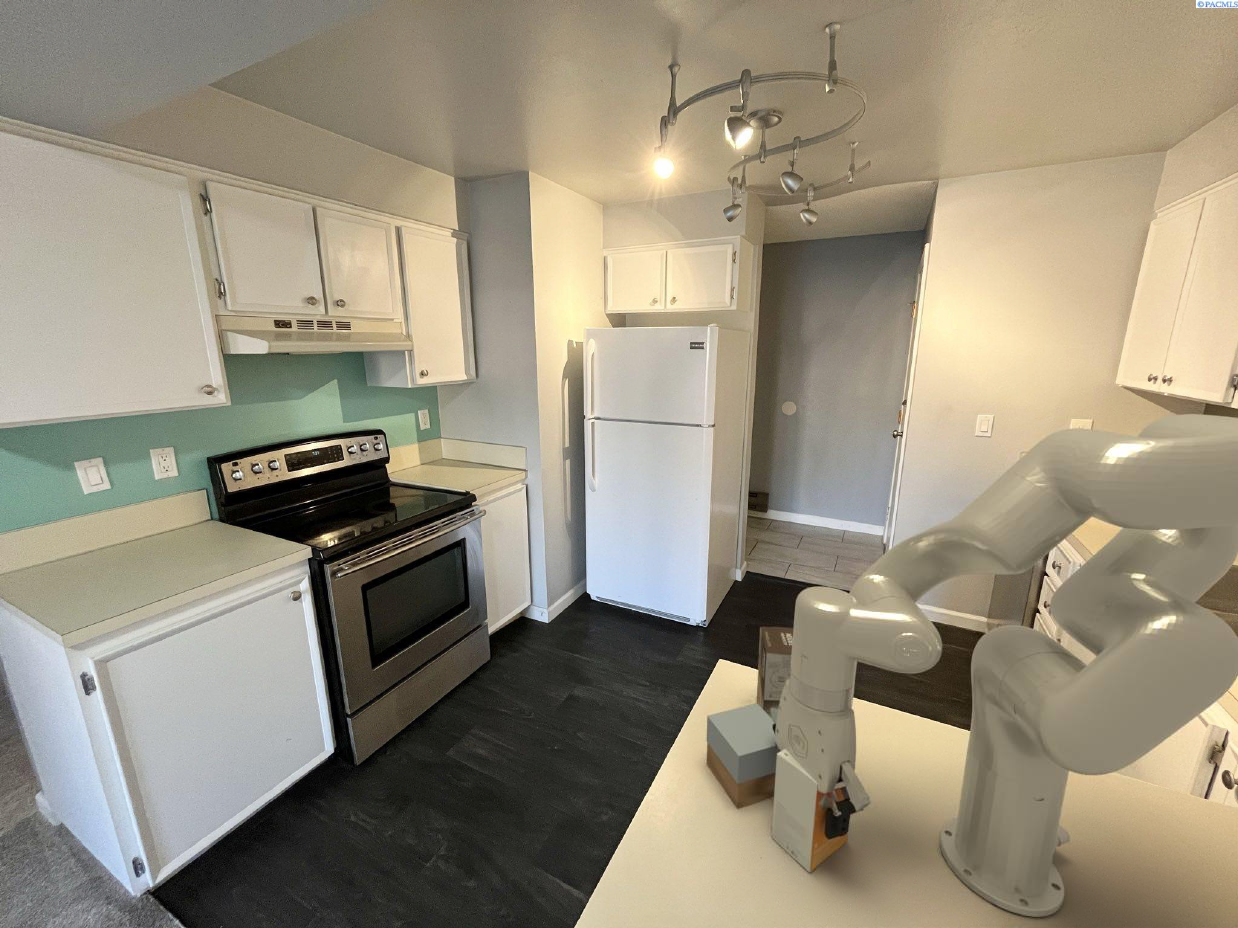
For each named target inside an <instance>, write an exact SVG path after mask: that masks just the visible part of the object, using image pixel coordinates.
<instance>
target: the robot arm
mask: <svg viewBox="0 0 1238 928" xmlns="http://www.w3.org/2000/svg"><path fill="white" fill-rule="evenodd" d="M1091 518H1094V519H1097V520H1099V521H1101V522H1105V523H1107V524H1109V525H1113V526H1116V527H1120V528H1121V529H1120V530H1119V531H1118V533H1116V535H1115V536H1113V538H1111V539H1110V540H1109V541H1108V542H1107V543H1106V544H1105V545H1103V546H1102V547H1101V548H1100V549H1099V550H1098V551H1097V552H1096V553H1094V555H1092V556H1091V557H1090V558H1089V559H1088V560H1087V561H1086V562H1084V563H1083V564H1082V565H1081V566H1080V567H1079V568H1078V569H1077V570H1075V572H1073V573H1072V574H1071V575H1070V576H1069V577H1068V578H1067V579H1066V580H1064V582H1062V584H1061V585H1060V586H1058V588H1057V589H1056V590H1055V591H1054V592H1053V594H1052V597H1051V598H1050V602H1049V609H1050V613H1051V616H1052V618H1053V619H1054V621H1055V622H1056V624H1057V625H1058V626H1059V627H1060V628H1061V629H1062V630H1063V631H1064V632H1065V633H1066V634H1067V635H1068V636H1070V637H1071V638H1072V639H1074V640H1075V641H1076V642H1077V643H1078V644H1079V645H1080V646H1082V647H1084V648H1085V649H1086V650H1087V651H1089V652H1090V653H1092V654H1093V655H1094V656H1095V657H1094V658H1093V659H1092V660H1091V661H1090V662H1089V663H1088V664H1086V663H1085V662H1083V661H1082V660H1081V659H1080V658H1078V657H1077V656H1076V655H1075V654H1073V652H1071V651H1069V650H1068V649H1067V648H1066V647H1065V646H1064V645H1062V644H1061V643H1059V642H1058V641H1056V640H1055V639H1053V637H1050V636H1049V635H1047V634H1046V633H1043V632H1041V631H1040V630H1037V629H1034V628H1031V627H1028V626H1024V625H1019V624H1006V625H1001V626H997V627H994V628H992V629H990V630H989V631H987V632H986V633H984V634H983V635H982V636H981V637H980V639H979V640H978V641H977V642H976V645H975V647H974V649H973V651H972V658H971V663H970V665H971V666H970V676H971V695H972V707H971V709H972V711H971V721H970V722H971V723H970V730H969V738H968V743H967V750H966V757H965V764H964V771H963V777H962V785H961V791H960V797H959V798H960V799H959V805H958V806H959V807H958V812H957V813H958V815H957V817H954V818H951V819H950V820H948V821H946V822H945V823H944V825H943V826H942V828H941V831H940V837H939V844H940V850H941V853H942V856H943V858H944V859H945V861H946V863H947V865H948V866H949V867H950V869H951V870H952V871H953V873H954V875H956V876H957V877H958V879H960V881H962V882H963V884H965V885H966V886H967V887H968V888H969V889H971V890H972V891H973V892H975V893H976V894H977V895H979V896H981V897H982V898H983V899H984V900H985V901H988V902H990V903H992V904H993V905H996V906H997V907H999V908H1001V909H1003V910H1006V911H1008V912H1011V913H1015V914H1019V915H1021V916H1028V917H1033V918H1034V917H1035V918H1036V917H1037V918H1039V917H1040V918H1041V917H1047V916H1050V915H1054V914H1055V913H1056V912H1057V911H1059V910H1060V908H1061V906H1062V905H1063V903H1064V897H1065V884H1064V882H1063V879H1062V876H1061V874H1060V872H1059V871H1058V869H1057V867H1056V866H1055V865H1054V864H1053V857H1054V853H1055V852H1056V848H1057V847H1061V846H1063V845H1065V844H1067V843H1068V842H1070V841H1071V837H1070V835H1069V833H1068V832H1067V830H1066V829H1065V828H1064V827H1063V826H1061V825H1060V819H1061V815H1062V808H1063V804H1064V800H1065V793H1066V787H1067V782H1068V779H1069V774H1070V772H1071V773H1074V774H1077V775H1083V776H1102V775H1109V774H1112V773H1115V772H1118V771H1121V770H1122V769H1125V768H1127V767H1128V766H1130V765H1132V764H1134V763H1135V762H1137V761H1138V760H1140V759H1142V757H1144V756H1145V755H1147V754H1149V752H1151V751H1152V750H1154V749H1155V748H1156V747H1158V746H1159V745H1160V744H1163V742H1164V741H1166V740H1167V739H1168V738H1170V737H1171V736H1172V735H1174V734H1175V733H1177V731H1179V730H1181V729H1182V728H1183V727H1185V726H1186V725H1187V724H1189V723H1190V722H1191V721H1192V720H1194V719H1195V718H1196V717H1198V716H1200V714H1202V713H1203V712H1204V711H1206V710H1207V709H1209V708H1210V707H1212V705H1214V704H1215V703H1216V702H1217V701H1218V700H1220V699H1221V698H1223V696H1224V695H1225V694H1226V693H1227V692H1228V691H1229V690H1230V689H1231V688H1232V686H1233V684H1234V683H1235V681H1236V680H1237V678H1238V636H1237V634H1236V633H1235V631H1234V630H1233V629H1232V627H1231V626H1230V625H1229V624H1228V623H1227V622H1225V620H1224V619H1223V618H1221V617H1219V616H1218V615H1216V614H1215V613H1214V612H1212V611H1211V610H1209V609H1207V608H1205V607H1203V606H1201V605H1199V604H1198V603H1196V602H1197V601H1198V600H1199V599H1200V598H1201V597H1203V596H1204V595H1205V594H1206V592H1208V591H1210V589H1212V587H1213V586H1214V585H1215V584H1217V582H1218V581H1220V579H1222V578H1223V577H1224V576H1225V575H1226V574H1227V573H1228V572H1229V571H1230V569H1231V568H1232V566H1233V564H1234V563H1235V561H1236V559H1237V557H1238V417H1234V416H1233V417H1231V416H1225V415H1224V416H1223V415H1222V416H1221V415H1211V414H1200V413H1198V414H1197V413H1186V414H1185V413H1184V414H1183V413H1182V414H1172V415H1169V416H1165V417H1161V418H1158V419H1156V420H1154V421H1153V422H1150V423H1149V424H1148V425H1147V426H1146V427H1144V428H1143V429H1142V430H1141V432H1140V433H1139V434H1138V435H1137V436H1135V435H1127V434H1123V433H1117V432H1111V431H1106V430H1105V431H1104V430H1100V429H1092V428H1091V429H1090V428H1078V427H1077V428H1075V427H1074V428H1066V429H1065V428H1064V429H1061V430H1057V431H1055V432H1053V433H1051V434H1049V435H1047V436H1045V437H1044V438H1043V439H1041V440H1040V441H1038V442H1037V444H1035V445H1034V446H1033V447H1031V448H1030V449H1029V451H1027V452H1026V453H1025V454H1023V456H1022V457H1020V459H1018V461H1016V462H1015V463H1014V464H1013V465H1012V466H1011V467H1009V468H1008V469H1007V470H1006V471H1005V472H1004V473H1003V474H1001V476H1000V477H999V478H998V479H997V480H996V481H994V482H993V483H992V484H991V485H990V486H989V487H988V488H986V489H985V490H984V491H983V492H982V493H981V494H980V495H979V496H978V497H977V498H975V499H974V500H973V501H972V502H971V503H970V504H969V505H968V506H966V507H965V508H964V509H963V510H962V511H961V512H960V513H958V515H956V516H954V517H953V518H951V519H950V520H947V521H944V522H942V523H939V524H937V525H934V526H932V527H930V528H928V529H926V530H923V531H921V532H919V533H916V534H915V535H913V536H910V537H908V538H906V539H904V540H903V541H902V540H901V542H899V543H897V544H895V545H894V546H892V547H891V548H890V549H888V551H886V552H885V553H883V554H882V555H881V556H880V557H879V558H878V559H877V560H876V561H875V562H874V563H873V564H872V565H871V566H870V567H868V568H867V569H866V570H865V571H864V572H863V574H861V575H860V576H859V577H858V579H857V580H856V581H855V582H854V584H853V585H852V587H851V589H850V590H849V593H848V592H846V591H845V590H844V591H843V590H841V589H838V588H835V587H829V586H812V587H807V588H805V589H803V590H802V591H800V593H799V594H798V595H797V597H796V599H795V607H794V616H793V617H794V619H793V628H794V629H793V642H792V654H791V661H790V663H791V666H790V678H789V679H788V680H787V681H786V683H785V686H784V688H783V691H782V695H781V699H780V703H779V706H776V707H772V708H771V709H770V711H771V716H772V721H773V722H774V724H773V726H772V727H773V731H774V733H775V741H776V742H775V747H776V749H777V750H778V751H779V752H780V751H782V750H783V749H786V750H787V751H788V752H789V753H790V754H791V755H792V757H793V758H794V759H795V760H796V761H797V762H798V763H799V764H800V765H801V766H802V767H803V768H804V770H805V771H806V772H807V773H808V774H809V775H810V776H811V777H812V778H813V779H814V780H815V781H816V782H817V783H818V789H817V790H818V791H819V792H821V793H823V794H825V793H826V794H827V797H828V800H829V803H830V806H831V807H829V808H828V809H827V812H826V821H825V831H824V833H825V836H826V837H827V839H828V840H830V839H833V838H836V837H838V836H839V837H841V836H844V835H846V834H847V833H848V834H849V829H850V820H851V815H853V814H857V813H859V812H862V811H864V809H866V807H868V806H869V805H870V804H871V803H872V801H871V798H870V796H869V794H868V792H867V790H866V789H865V787H864V785H863V784H862V782H861V780H860V779H859V777H858V775H857V774H856V772H855V769H856V763H857V762H856V759H857V728H856V727H857V725H856V715H855V711H854V709H853V700H854V694H855V683H856V681H855V680H856V674H857V664H858V662H859V663H863V664H866V665H870V666H873V667H877V668H880V669H883V670H887V671H891V672H896V673H901V674H919V673H923V672H926V671H927V670H930V669H932V668H934V667H935V666H936V665H937V663H938V662H939V661H940V660H941V659H940V658H941V656H942V653H943V640H942V637H941V635H940V633H939V631H938V629H937V627H936V626H935V625H934V624H933V622H932V621H931V620H930V618H929V617H928V616H927V615H926V614H925V613H924V612H923V610H922V609H921V608H920V607H919V605H918V604H916V603H917V602H918V601H919V600H920V599H921V598H922V597H923V596H924V595H926V594H927V593H929V592H930V591H931V590H933V589H934V588H935V587H937V586H938V585H940V584H942V583H943V582H946V581H948V580H950V579H953V578H957V577H960V576H965V575H966V576H967V575H977V574H981V575H1019V574H1023V573H1026V572H1027V571H1028V570H1030V569H1031V568H1032V567H1033V566H1035V565H1036V564H1037V563H1038V562H1039V561H1040V560H1041V559H1043V558H1044V557H1045V556H1046V555H1048V554H1049V553H1050V552H1051V551H1052V550H1053V549H1055V548H1056V547H1057V546H1059V545H1060V544H1061V543H1062V542H1063V541H1065V539H1067V538H1068V537H1069V536H1071V535H1072V534H1073V533H1074V532H1075V531H1076V530H1078V529H1079V528H1080V527H1081V526H1082V525H1084V524H1085V523H1086V522H1088V521H1089V520H1090V519H1091ZM779 752H777V753H779ZM838 779H839V781H838ZM839 788H841V791H842V794H843V797H844V800H842V801H839V802H838V799H837V796H836V793H835V790H836V789H839Z"/></svg>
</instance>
